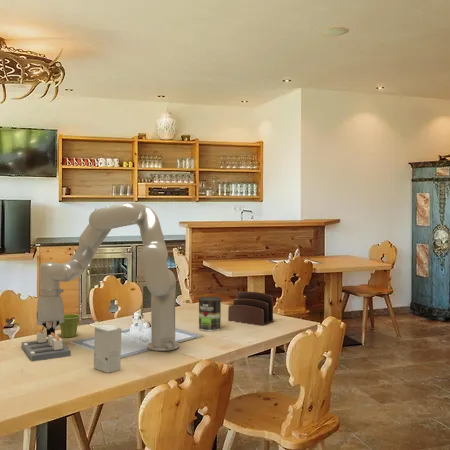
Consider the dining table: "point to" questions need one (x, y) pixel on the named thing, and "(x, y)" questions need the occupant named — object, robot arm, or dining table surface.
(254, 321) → the letter holder
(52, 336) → the tab
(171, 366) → the dining table surface
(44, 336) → the tab
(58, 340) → the tab
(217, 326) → the coffee can
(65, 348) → the switch bank
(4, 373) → the dining table surface
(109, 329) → the skincare box
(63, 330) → the plant pot
